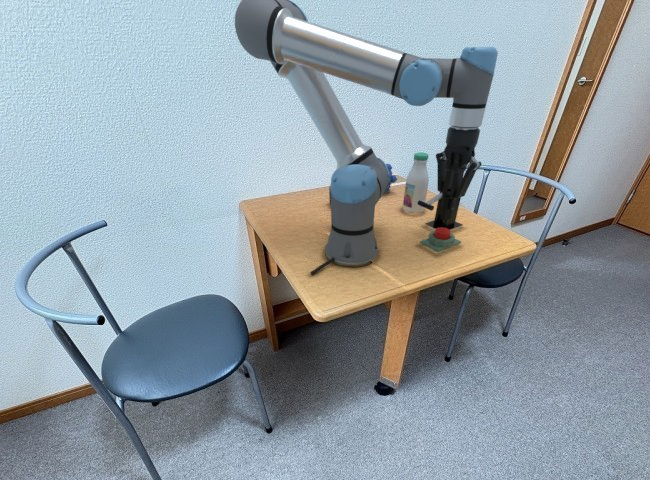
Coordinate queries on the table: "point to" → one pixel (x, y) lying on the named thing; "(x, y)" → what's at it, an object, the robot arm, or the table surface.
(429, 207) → the lever
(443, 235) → the button
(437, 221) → the bracket
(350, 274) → the table surface
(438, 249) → the button box
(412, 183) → the milk bottle
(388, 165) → the grapes
